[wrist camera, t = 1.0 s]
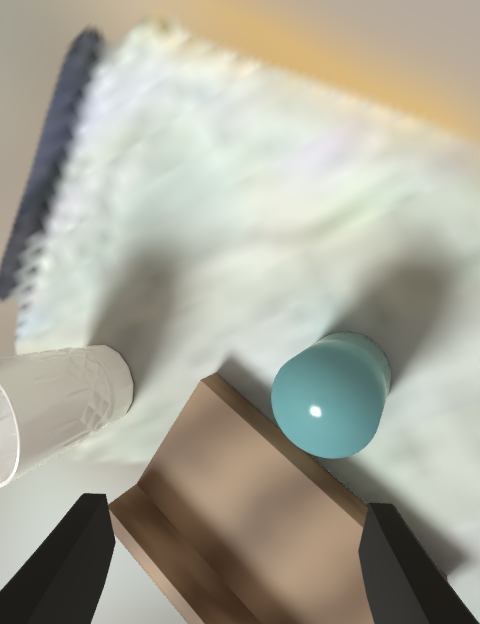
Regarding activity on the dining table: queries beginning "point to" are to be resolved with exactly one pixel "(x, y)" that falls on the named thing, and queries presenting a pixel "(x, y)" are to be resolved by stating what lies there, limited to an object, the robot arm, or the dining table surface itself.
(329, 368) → the teal round canister
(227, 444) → the walnut shelf
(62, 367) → the white cup
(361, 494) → the dining table surface
